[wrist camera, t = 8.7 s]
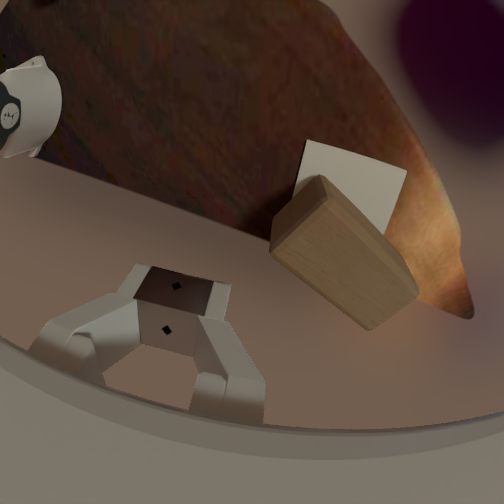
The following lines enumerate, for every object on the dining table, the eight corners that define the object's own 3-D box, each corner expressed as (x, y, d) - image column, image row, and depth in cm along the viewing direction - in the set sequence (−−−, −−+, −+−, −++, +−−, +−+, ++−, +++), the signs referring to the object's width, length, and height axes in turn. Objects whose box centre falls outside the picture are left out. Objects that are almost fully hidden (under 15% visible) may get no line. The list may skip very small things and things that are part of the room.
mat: (286, 219, 42) (286, 220, 42) (306, 139, 36) (307, 139, 36) (379, 242, 42) (379, 243, 42) (406, 170, 36) (407, 171, 36)
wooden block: (269, 218, 42) (357, 292, 48) (265, 256, 34) (368, 335, 39) (318, 169, 37) (402, 255, 43) (328, 195, 29) (423, 295, 34)
